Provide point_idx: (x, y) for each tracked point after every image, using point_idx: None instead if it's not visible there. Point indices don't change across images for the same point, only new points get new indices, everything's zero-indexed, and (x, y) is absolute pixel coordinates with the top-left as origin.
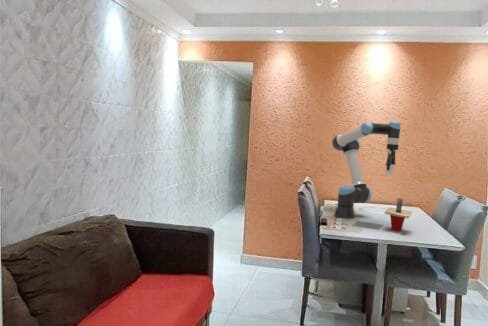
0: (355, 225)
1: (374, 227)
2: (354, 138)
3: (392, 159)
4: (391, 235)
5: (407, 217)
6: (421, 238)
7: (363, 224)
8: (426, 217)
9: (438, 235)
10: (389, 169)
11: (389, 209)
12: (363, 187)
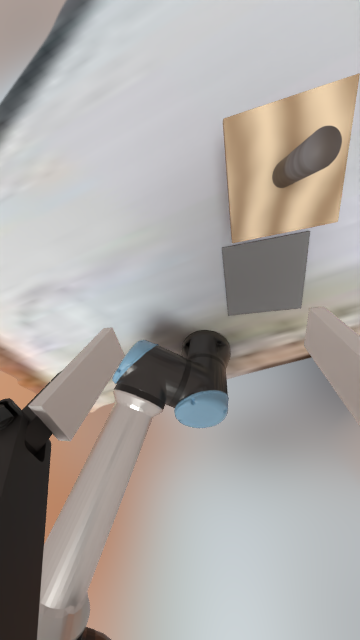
0: (293, 300)
1: (280, 254)
2: None
3: (14, 565)
4: (356, 165)
5: (354, 84)
6: (334, 28)
7: (262, 290)
8: None
9: None
10: None
11: (268, 226)
12: (151, 385)
